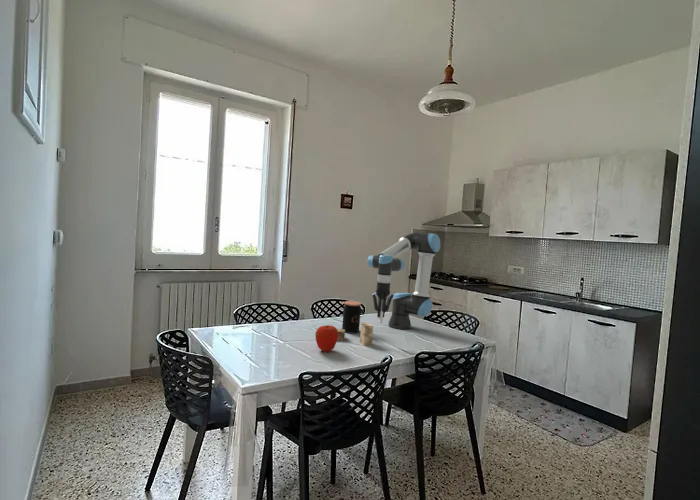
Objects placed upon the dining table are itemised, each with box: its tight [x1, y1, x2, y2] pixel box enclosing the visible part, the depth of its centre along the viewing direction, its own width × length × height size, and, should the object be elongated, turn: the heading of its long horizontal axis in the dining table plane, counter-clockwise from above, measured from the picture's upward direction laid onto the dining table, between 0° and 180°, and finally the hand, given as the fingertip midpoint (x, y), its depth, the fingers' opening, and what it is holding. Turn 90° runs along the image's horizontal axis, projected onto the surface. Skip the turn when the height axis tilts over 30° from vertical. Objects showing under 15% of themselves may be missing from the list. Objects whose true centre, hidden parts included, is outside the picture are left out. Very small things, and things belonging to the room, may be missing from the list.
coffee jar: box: [341, 300, 362, 334], centre depth 246 cm, size 11×11×18 cm
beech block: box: [359, 322, 374, 346], centre depth 223 cm, size 5×6×11 cm
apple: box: [315, 324, 338, 353], centre depth 205 cm, size 12×12×14 cm
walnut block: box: [336, 328, 346, 341], centre depth 229 cm, size 5×6×11 cm
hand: (380, 322), depth 225 cm, fingers closed
